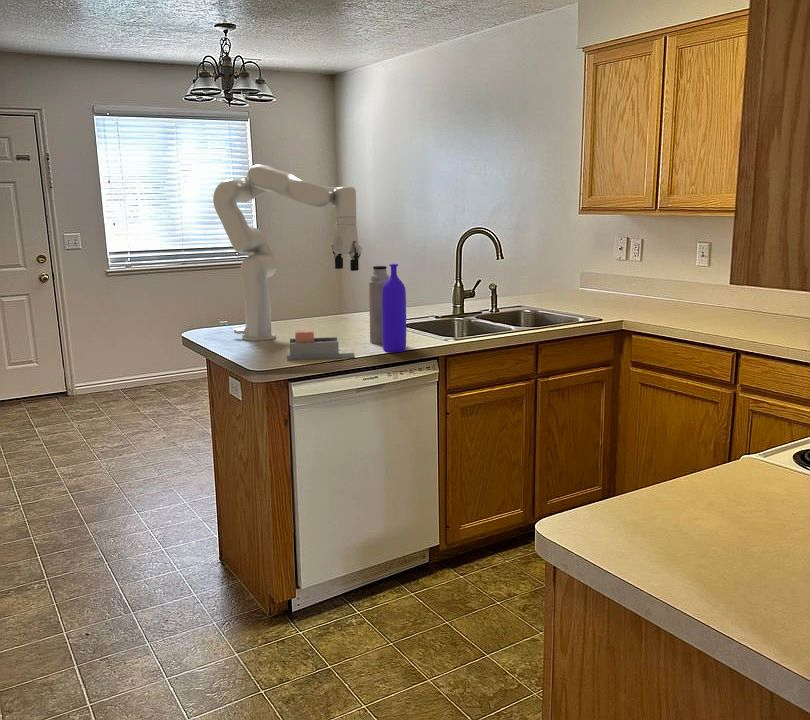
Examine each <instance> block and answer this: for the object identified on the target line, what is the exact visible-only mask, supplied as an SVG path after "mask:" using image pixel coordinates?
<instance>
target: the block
mask: <svg viewBox="0 0 810 720" xmlns="http://www.w3.org/2000/svg"><path fill="white" fill-rule="evenodd" d="M294 331H295V333H294V335H295V338H296V343H301V342H314V338H315V335H314V334H315V333H314V329H295V330H294Z"/></svg>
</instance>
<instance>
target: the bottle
mask: <svg viewBox="0 0 810 720" xmlns="http://www.w3.org/2000/svg"><path fill="white" fill-rule="evenodd" d="M398 266H399V264H398V263H389V267H390V275H389V279H388V280H387V281H386V283H385V284H384V286H383V290H382V331H383V344H382V348H383V349H382V350H383V352H386V353H403V352H405V351H406V350H407V297H406V296H407V295H406V294H407V291H406V286H405V284H404V283H403V281H402V280H401V279H400V278H399V277H398V271H397V268H398Z"/></svg>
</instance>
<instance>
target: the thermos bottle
mask: <svg viewBox="0 0 810 720" xmlns="http://www.w3.org/2000/svg"><path fill="white" fill-rule="evenodd" d="M372 269H373V272H372V274H371V276H370V281H369V282H368V291H369V293H368V294H369V295H368V297H369V298H368V299H369V300H368V301H369V304H368V305H369V343H370V344H375V345H383V331H382V290H383V286H384V284H385V283H386V281H387V280H388V279H389V278H390V275H389V274H387V266H386V265H375V266H372Z"/></svg>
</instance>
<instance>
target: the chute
mask: <svg viewBox="0 0 810 720" xmlns="http://www.w3.org/2000/svg"><path fill="white" fill-rule="evenodd" d="M286 352H287V353H286V360H287V361H302V360H303V361H307V360H330V359H333V360H334V359H335V360H337V359H354V358H355V353H354V350H353V348H352V347H339V341H338V336H330V337H329V336H328V337H325V336H324V337H322V336H321V337H314V342H301V343H296V337H295V338H294V337H293V338H289V349H287V351H286Z"/></svg>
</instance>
